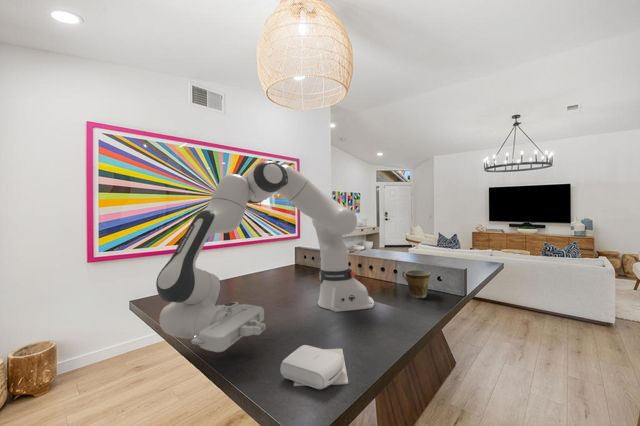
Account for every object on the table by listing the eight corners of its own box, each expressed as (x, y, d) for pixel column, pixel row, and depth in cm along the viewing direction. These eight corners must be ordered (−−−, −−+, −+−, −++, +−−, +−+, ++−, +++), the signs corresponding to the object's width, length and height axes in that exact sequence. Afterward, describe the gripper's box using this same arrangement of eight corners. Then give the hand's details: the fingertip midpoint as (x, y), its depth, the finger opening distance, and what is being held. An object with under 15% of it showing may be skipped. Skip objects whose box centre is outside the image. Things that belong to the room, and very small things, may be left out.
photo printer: (304, 341, 73) (348, 353, 67) (305, 358, 73) (348, 371, 67) (279, 360, 65) (326, 375, 58) (279, 379, 65) (327, 396, 58)
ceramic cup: (435, 296, 121) (434, 272, 121) (420, 301, 115) (420, 276, 115) (410, 289, 132) (409, 267, 132) (395, 293, 126) (394, 271, 126)
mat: (342, 350, 78) (342, 348, 78) (348, 384, 63) (348, 382, 63) (298, 351, 78) (298, 350, 78) (293, 385, 63) (293, 384, 63)
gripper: (185, 327, 65) (238, 334, 61) (237, 299, 85) (279, 303, 80) (186, 355, 65) (239, 363, 61) (237, 320, 85) (280, 325, 81)
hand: (262, 329), depth 71 cm, fingers closed
